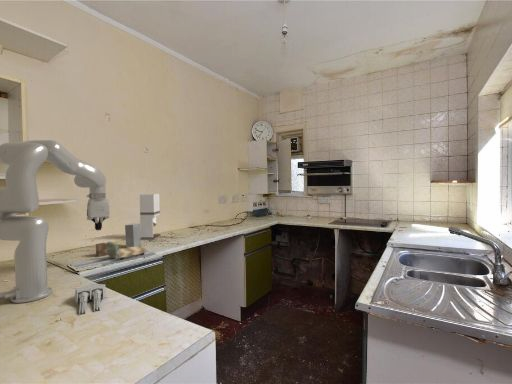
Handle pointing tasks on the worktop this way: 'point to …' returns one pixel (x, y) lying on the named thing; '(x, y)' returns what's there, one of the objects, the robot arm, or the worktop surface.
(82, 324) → the worktop surface
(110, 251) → the multicoloured piece
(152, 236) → the white square column
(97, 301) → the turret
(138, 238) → the skincare box
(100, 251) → the walnut block
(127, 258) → the rail track
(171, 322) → the worktop surface
